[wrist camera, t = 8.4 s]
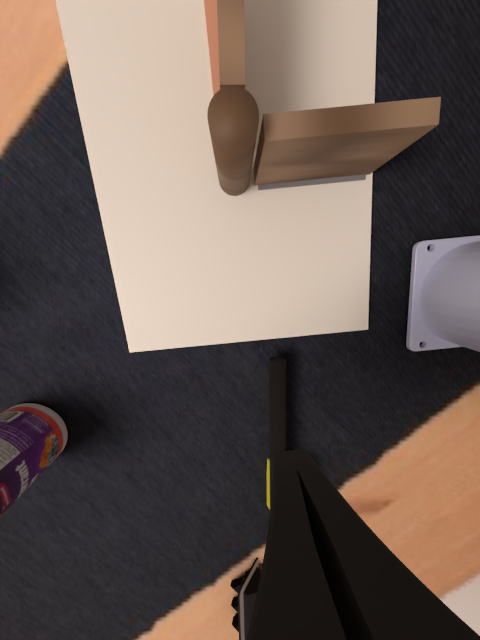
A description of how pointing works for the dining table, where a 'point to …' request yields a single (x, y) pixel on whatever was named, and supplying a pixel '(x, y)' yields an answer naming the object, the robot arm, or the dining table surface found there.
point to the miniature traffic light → (277, 443)
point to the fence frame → (310, 138)
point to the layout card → (201, 173)
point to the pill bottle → (27, 447)
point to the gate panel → (231, 42)
